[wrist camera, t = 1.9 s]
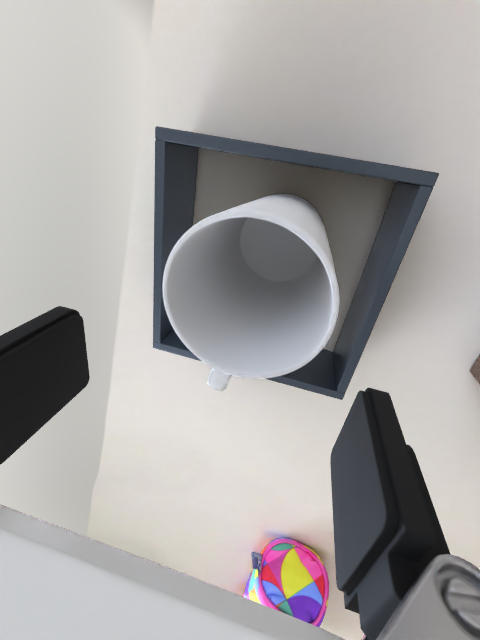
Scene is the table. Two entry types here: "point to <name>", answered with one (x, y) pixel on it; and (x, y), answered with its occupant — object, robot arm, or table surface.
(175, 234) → the dark gray square frame
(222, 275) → the mug
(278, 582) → the pencil case
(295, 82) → the table surface
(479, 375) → the riser
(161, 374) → the table surface
